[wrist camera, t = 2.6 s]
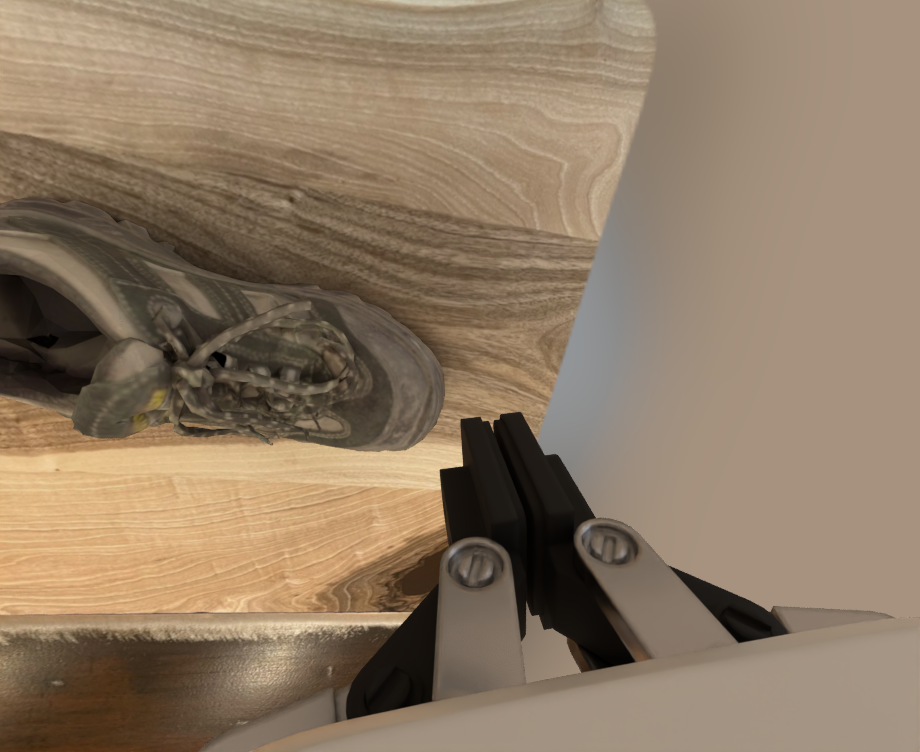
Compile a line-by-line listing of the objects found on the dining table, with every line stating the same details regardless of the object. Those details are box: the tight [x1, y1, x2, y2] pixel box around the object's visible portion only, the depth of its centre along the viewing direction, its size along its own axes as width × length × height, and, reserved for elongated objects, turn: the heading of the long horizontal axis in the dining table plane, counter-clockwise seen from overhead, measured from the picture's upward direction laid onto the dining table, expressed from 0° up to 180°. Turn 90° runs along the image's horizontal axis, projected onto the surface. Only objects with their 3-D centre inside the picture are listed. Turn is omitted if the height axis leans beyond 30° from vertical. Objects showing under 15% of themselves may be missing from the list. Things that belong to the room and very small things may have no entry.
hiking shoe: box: [0, 197, 445, 452], centre depth 18 cm, size 9×21×12 cm, turn 67°
